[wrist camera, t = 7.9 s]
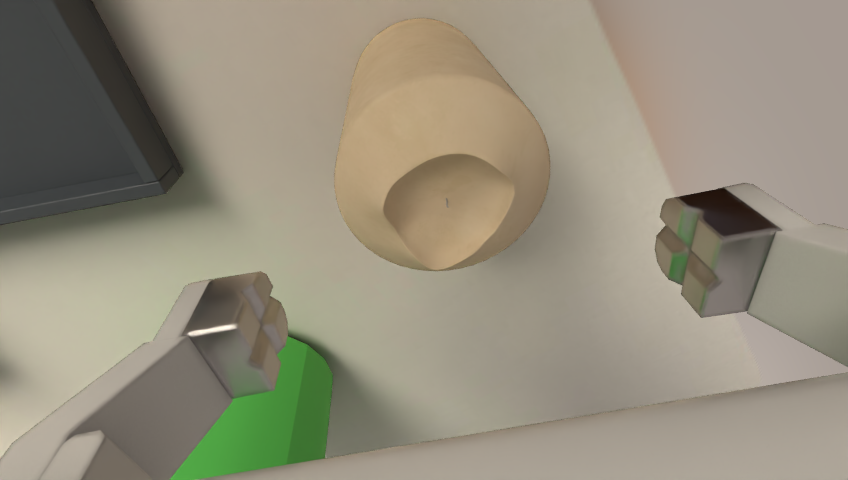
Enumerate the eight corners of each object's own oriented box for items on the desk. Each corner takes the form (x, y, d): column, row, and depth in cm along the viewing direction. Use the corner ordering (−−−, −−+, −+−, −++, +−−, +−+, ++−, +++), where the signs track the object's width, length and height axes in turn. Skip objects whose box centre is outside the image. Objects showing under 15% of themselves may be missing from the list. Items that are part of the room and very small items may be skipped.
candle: (459, 165, 20) (511, 321, 12) (340, 133, 19) (308, 285, 11) (507, 42, 17) (618, 139, 9) (371, -5, 16) (359, 59, 8)
